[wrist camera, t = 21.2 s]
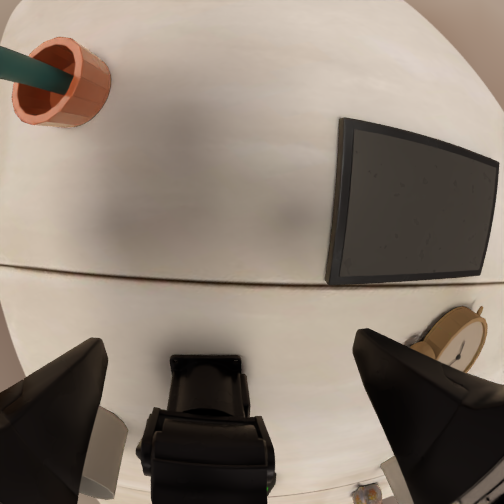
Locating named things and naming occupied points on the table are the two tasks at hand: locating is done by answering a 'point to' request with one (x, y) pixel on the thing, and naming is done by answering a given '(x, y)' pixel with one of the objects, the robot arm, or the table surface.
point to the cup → (103, 456)
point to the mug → (368, 495)
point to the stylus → (32, 72)
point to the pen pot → (79, 92)
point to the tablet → (407, 207)
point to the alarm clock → (455, 338)
